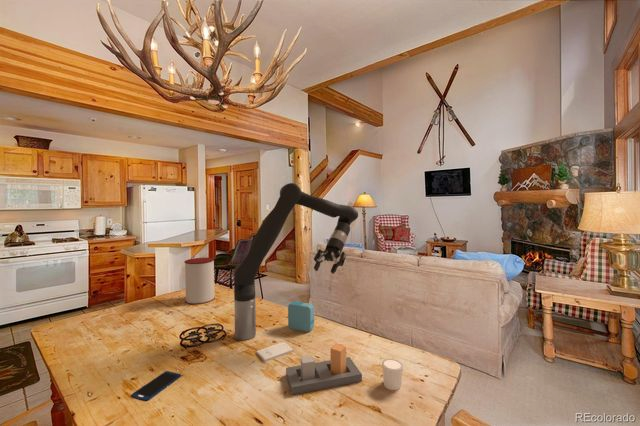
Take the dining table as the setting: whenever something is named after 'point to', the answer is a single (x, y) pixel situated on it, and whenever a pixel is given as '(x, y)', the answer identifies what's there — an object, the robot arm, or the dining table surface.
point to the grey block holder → (319, 375)
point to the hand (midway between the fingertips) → (323, 271)
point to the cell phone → (155, 386)
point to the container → (199, 280)
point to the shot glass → (392, 373)
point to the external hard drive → (274, 351)
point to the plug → (338, 359)
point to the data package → (301, 316)
